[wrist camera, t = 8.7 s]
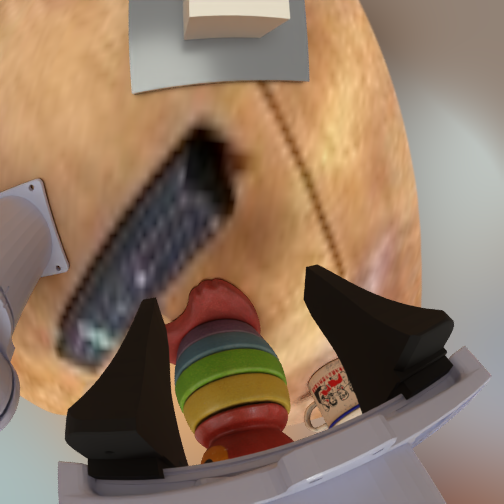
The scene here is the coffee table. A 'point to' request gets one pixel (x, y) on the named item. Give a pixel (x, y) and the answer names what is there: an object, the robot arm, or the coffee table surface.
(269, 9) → the block
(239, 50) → the plate
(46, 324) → the coffee table surface
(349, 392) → the teacup with lid
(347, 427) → the robot arm
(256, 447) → the stacking bear
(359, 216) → the coffee table surface
